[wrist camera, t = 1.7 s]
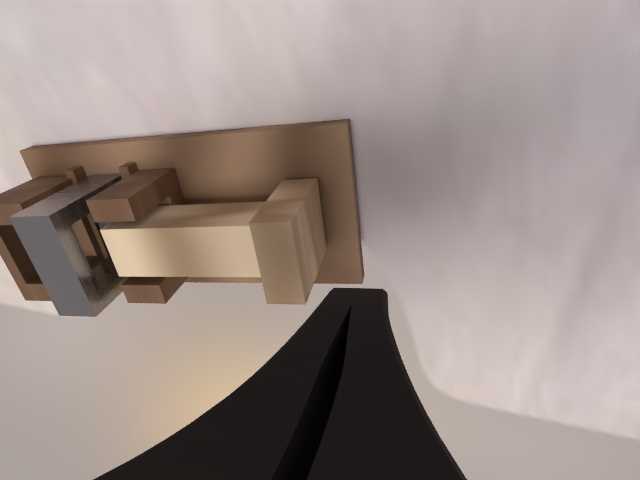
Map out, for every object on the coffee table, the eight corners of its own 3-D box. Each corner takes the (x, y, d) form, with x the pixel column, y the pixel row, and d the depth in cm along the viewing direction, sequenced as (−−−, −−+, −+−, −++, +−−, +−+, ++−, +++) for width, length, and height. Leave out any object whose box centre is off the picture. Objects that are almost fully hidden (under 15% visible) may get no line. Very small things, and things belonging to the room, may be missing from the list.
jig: (349, 119, 18) (330, 150, 14) (364, 275, 22) (351, 334, 18) (31, 146, 22) (-52, 176, 18) (89, 273, 26) (29, 321, 22)
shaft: (317, 177, 19) (291, 221, 15) (326, 248, 20) (305, 304, 16) (140, 187, 21) (78, 227, 17) (162, 250, 22) (110, 300, 19)
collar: (125, 172, 21) (48, 215, 17) (156, 259, 23) (96, 316, 19) (91, 174, 21) (8, 217, 17) (124, 259, 24) (59, 315, 19)
